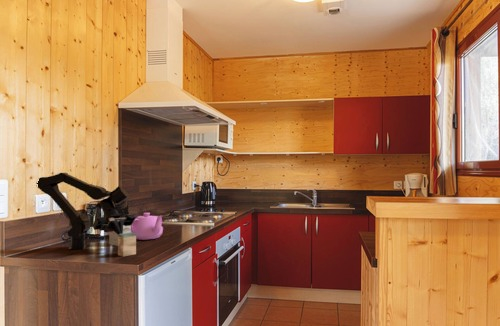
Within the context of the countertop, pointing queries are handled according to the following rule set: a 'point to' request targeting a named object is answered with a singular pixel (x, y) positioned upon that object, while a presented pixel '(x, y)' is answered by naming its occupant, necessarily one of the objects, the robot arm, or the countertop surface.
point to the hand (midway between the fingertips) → (121, 236)
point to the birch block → (126, 244)
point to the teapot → (147, 227)
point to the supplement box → (114, 236)
